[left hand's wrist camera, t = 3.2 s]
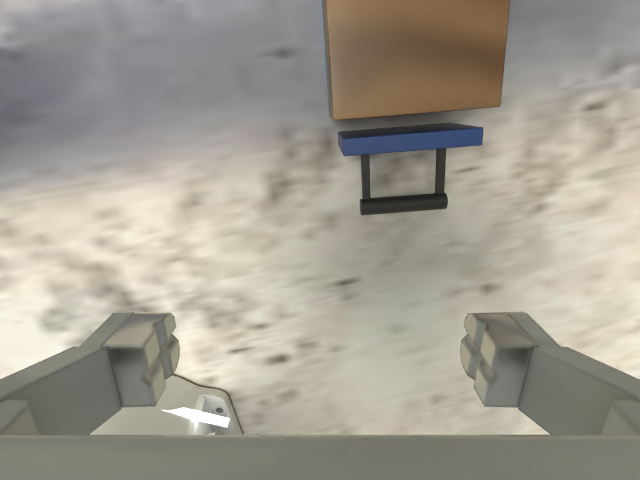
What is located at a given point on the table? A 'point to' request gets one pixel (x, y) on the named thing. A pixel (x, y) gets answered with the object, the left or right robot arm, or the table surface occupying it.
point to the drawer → (407, 141)
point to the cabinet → (413, 55)
